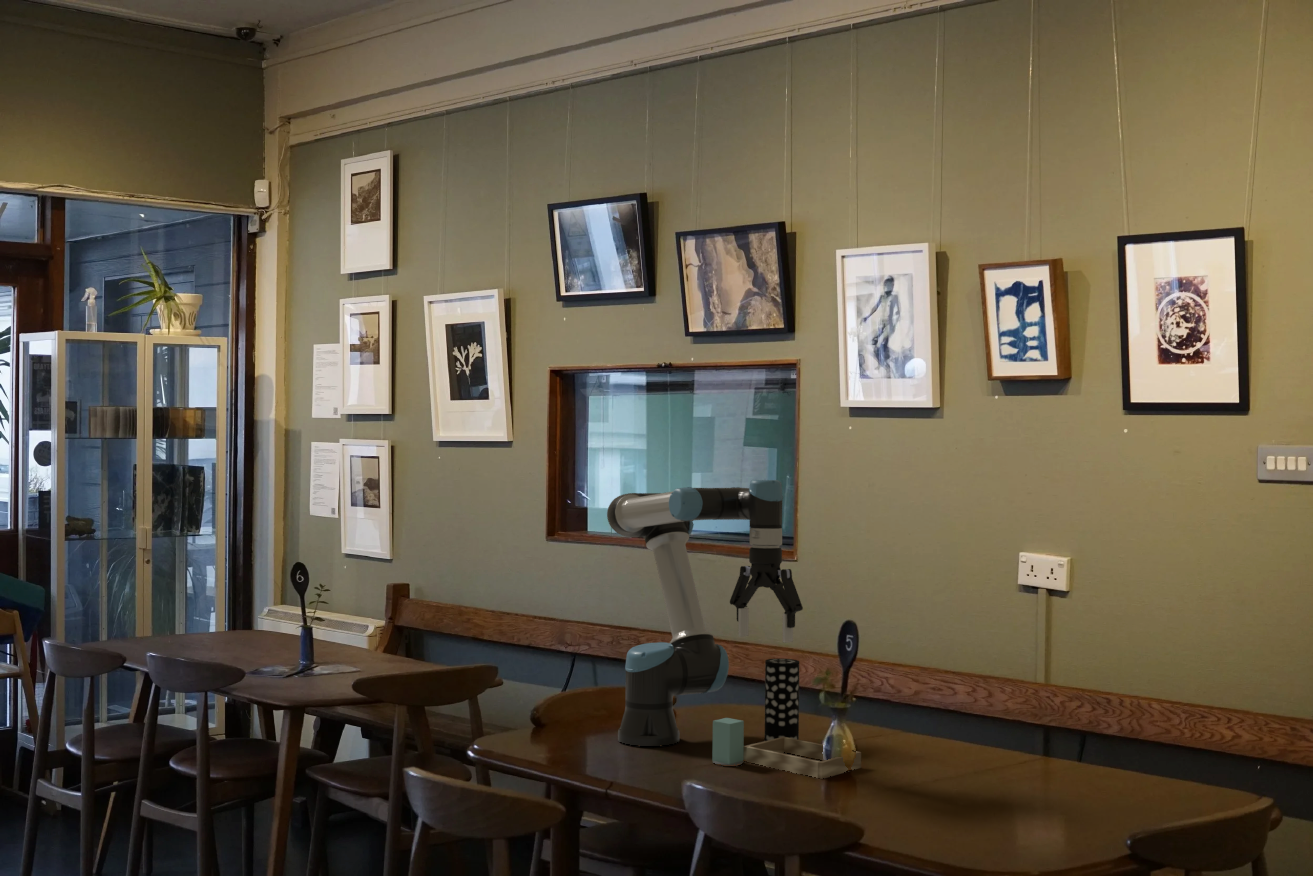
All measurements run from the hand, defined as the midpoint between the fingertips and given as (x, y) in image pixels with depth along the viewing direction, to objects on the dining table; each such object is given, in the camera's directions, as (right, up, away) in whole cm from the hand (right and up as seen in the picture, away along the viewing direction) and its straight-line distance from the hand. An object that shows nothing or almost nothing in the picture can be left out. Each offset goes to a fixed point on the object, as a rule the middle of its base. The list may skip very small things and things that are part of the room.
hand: (765, 639), depth 287 cm
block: (-9, -27, -3) cm, 29 cm away
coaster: (-9, -28, -3) cm, 29 cm away
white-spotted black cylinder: (+6, -29, +19) cm, 35 cm away
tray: (+8, -28, -4) cm, 29 cm away
